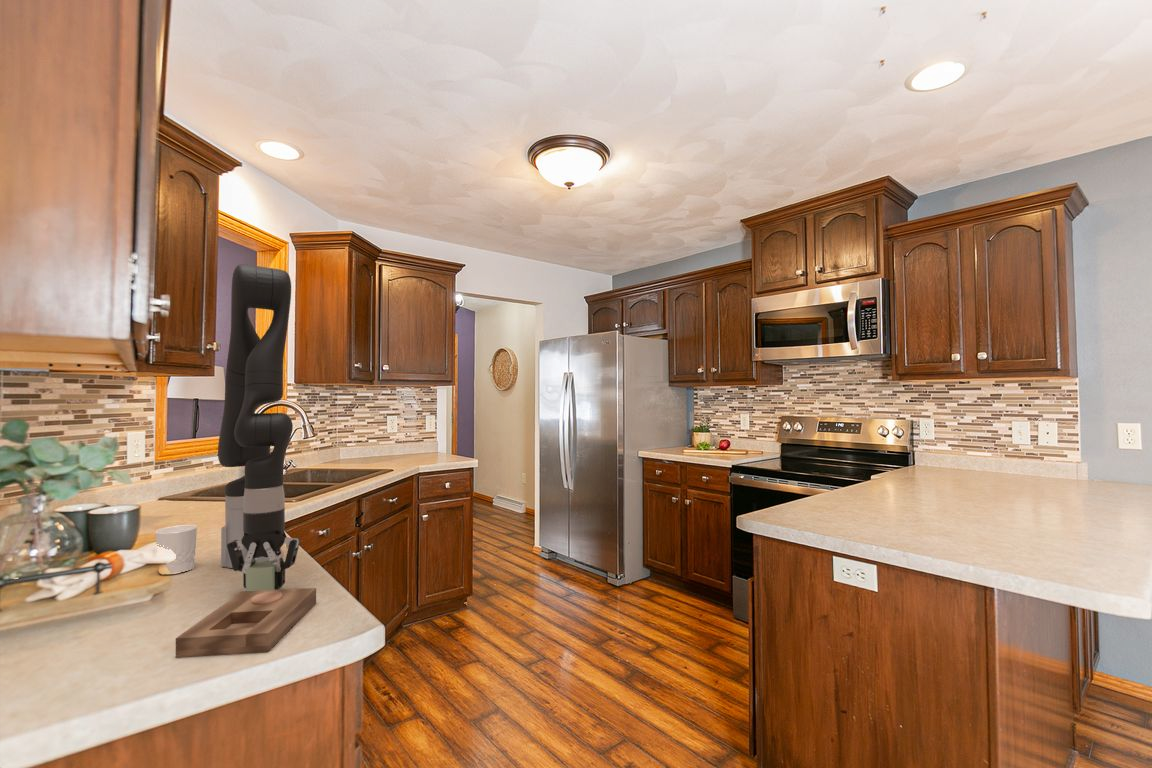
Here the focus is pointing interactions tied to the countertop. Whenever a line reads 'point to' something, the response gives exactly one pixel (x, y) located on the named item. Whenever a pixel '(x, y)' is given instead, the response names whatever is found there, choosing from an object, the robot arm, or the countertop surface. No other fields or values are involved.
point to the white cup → (179, 545)
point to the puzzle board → (247, 623)
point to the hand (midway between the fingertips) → (264, 588)
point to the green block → (260, 576)
